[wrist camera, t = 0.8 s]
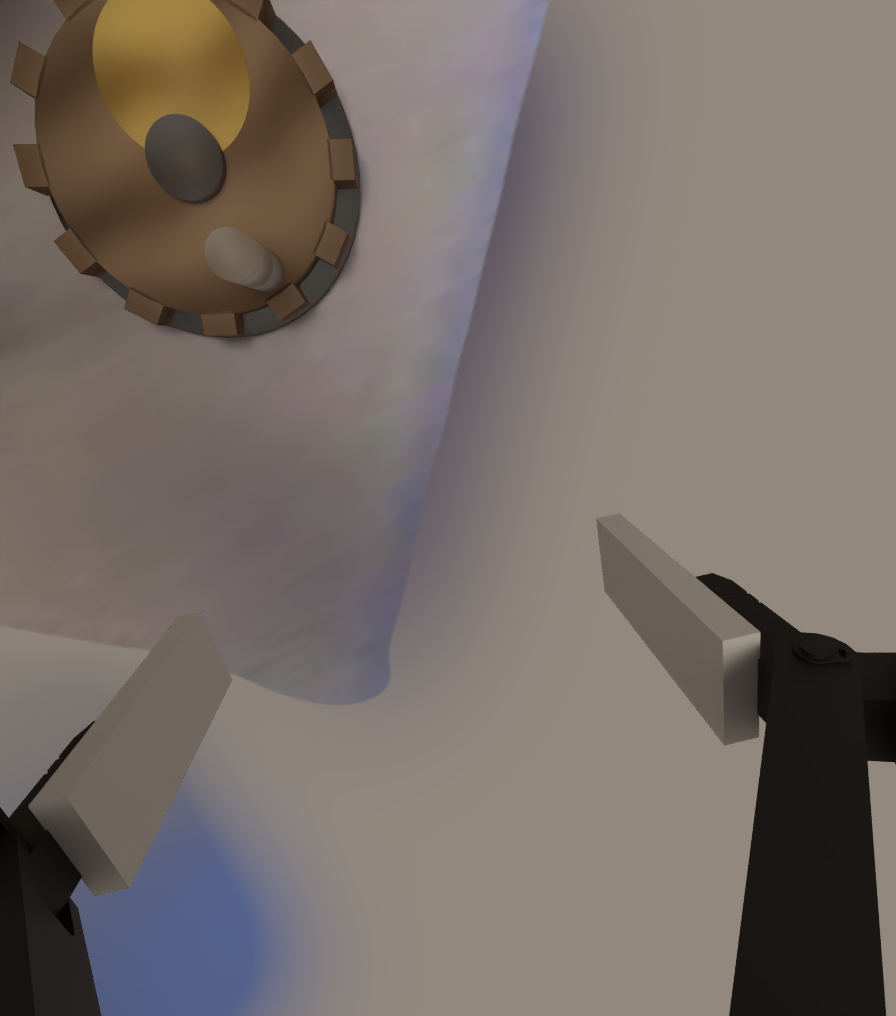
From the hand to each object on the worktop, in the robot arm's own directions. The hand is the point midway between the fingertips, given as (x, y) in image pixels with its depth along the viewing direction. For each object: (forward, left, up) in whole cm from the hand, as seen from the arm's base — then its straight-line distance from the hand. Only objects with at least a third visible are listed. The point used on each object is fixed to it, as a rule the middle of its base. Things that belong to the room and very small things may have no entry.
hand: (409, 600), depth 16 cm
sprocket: (-21, -1, -21) cm, 30 cm away
